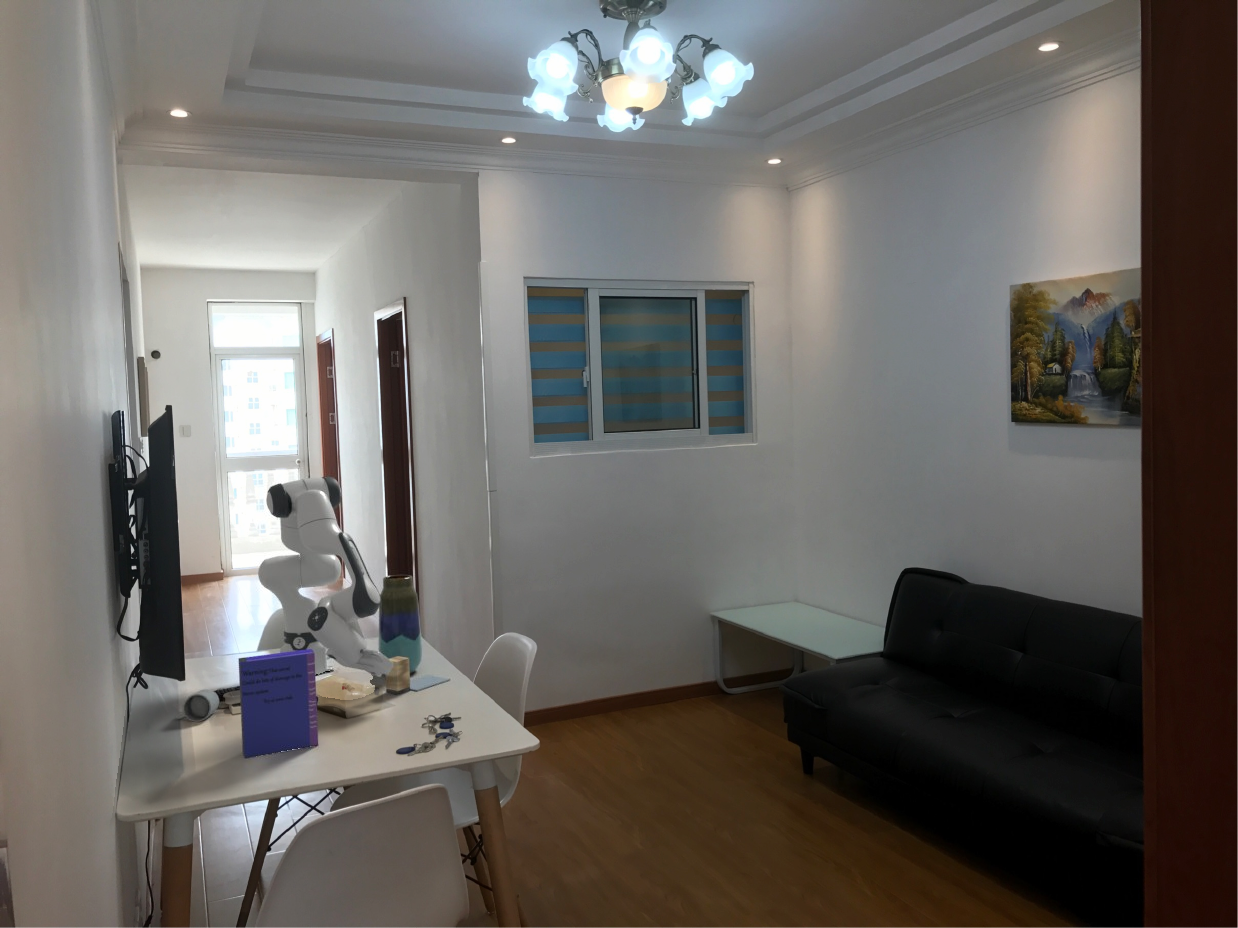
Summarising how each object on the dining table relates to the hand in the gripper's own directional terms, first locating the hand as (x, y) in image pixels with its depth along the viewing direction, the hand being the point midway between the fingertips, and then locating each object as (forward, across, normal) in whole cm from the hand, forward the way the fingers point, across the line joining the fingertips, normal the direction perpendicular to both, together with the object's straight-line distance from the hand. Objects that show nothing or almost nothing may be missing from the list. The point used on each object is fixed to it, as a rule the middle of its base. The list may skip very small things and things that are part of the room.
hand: (378, 674), depth 282 cm
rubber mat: (+17, 0, -7) cm, 19 cm away
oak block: (+10, 0, 0) cm, 10 cm away
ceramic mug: (-23, +30, +33) cm, 50 cm away
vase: (+22, +16, -12) cm, 30 cm away
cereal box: (-25, -13, +36) cm, 46 cm away
